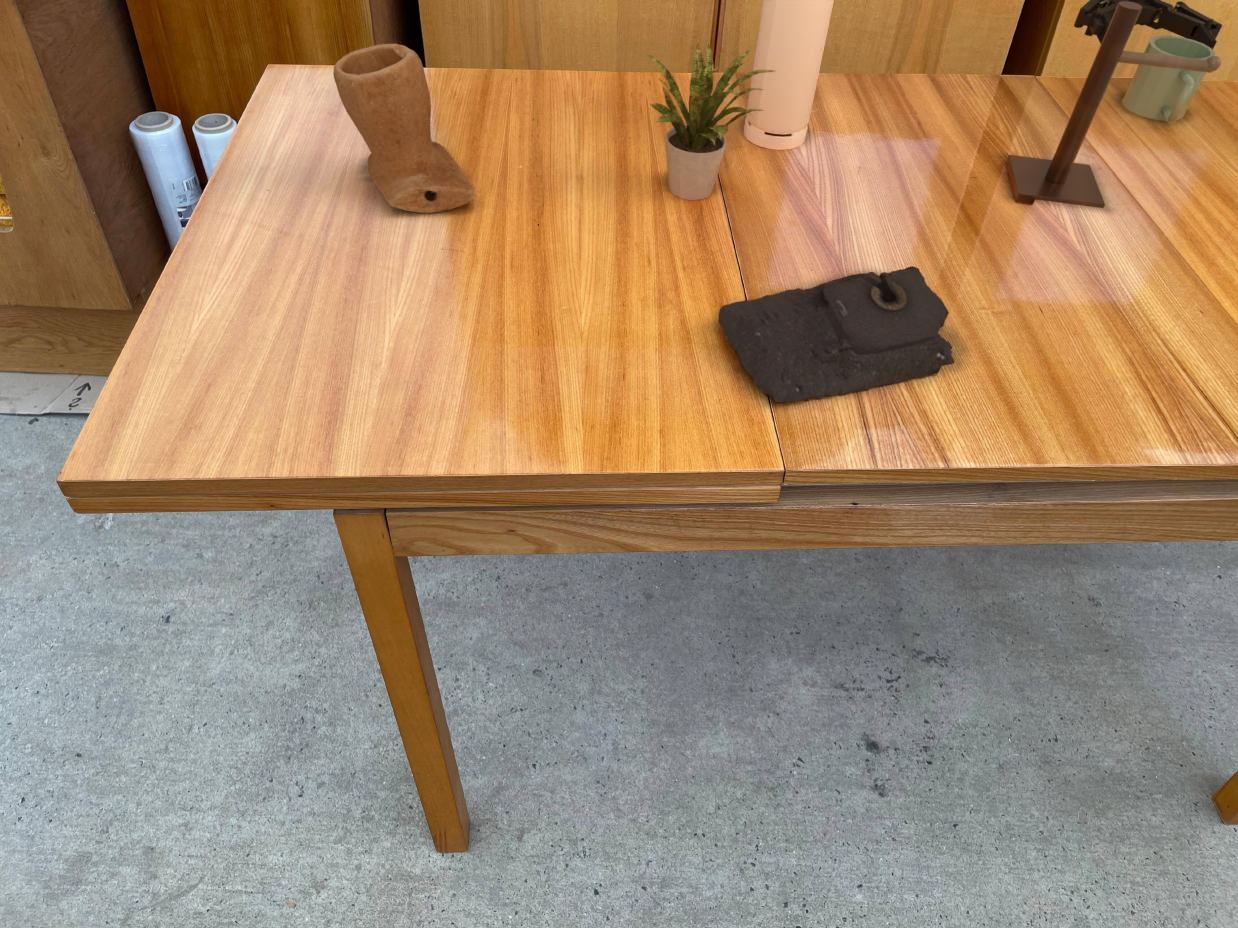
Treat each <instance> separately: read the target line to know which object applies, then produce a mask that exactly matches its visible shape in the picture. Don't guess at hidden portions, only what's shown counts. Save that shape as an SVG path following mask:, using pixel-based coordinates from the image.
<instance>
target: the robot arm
mask: <svg viewBox="0 0 1238 928" xmlns="http://www.w3.org/2000/svg"><path fill="white" fill-rule="evenodd" d="M1122 1H1129V2H1134V3H1137V4H1139V5H1141V6H1142V10H1141V12H1140V14H1139V16H1138V19H1137V21H1136V23H1135V25H1134V26H1137V25H1139V26H1146V27H1149V28H1150V29H1154V30H1155V31H1157V30H1161V29H1162V30H1166V31H1168V32H1170V33H1173V34H1175V35H1178V36H1179V37H1183V38H1187V39H1192V40H1195V41H1198V42H1200V43H1203V44H1205V45H1207V46H1208V47H1210V48H1212V49H1213V50H1214V48H1215V46H1216V44H1217V43H1218V41H1217V40H1216V39H1217V37H1218V35H1219V34H1220V32H1221V29H1222V27H1224V26H1223V24H1222V23H1220V22H1218V21H1216V20H1215V19H1213V18H1210V17H1209V16H1207V15H1205V14H1203V13H1201V12H1199V11H1197V10H1195V9H1193V8H1192V7H1189V6H1188V5H1187V3H1186V2H1184V1H1181V0H1179V1H1176V3H1175V4H1174V5H1173V4H1171V3H1169V2H1166V1H1163V0H1088V1H1087V2H1085V4H1084V5H1083V6H1082V7H1080V9H1079V10H1078V13H1077V16H1076V18H1075V21H1074V24H1073V27H1074V28H1076V29H1082V28H1083V27H1085V26H1086V29H1085V31H1084V35H1085V36H1087V37H1093V36H1096V37H1097V40H1098V42H1099V43H1100V45H1101V43H1102V41H1103V39H1104V36H1105V34H1106V32H1107V29H1108V27H1109V24H1110V22H1111V20H1112V17H1113V15H1114V13H1115V10H1116V8H1117V6H1118V3H1119V2H1122ZM1156 21H1157V22H1156Z"/></svg>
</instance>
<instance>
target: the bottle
mask: <svg viewBox="0 0 1238 928" xmlns="http://www.w3.org/2000/svg"><path fill="white" fill-rule="evenodd" d="M834 2H835V0H763V2H762V7H761V8H762V9H761V15H760V20H759V26H758V27H759V28H758V33H757V34H758V35H757V41H756V48H755V54H754V61H753V67H752V71H755V70H774V72H766V73H759V74H756V75H754V76H752V77H751V80H750V86H749V88H760V89H763V90H751V91H749V94H748V100H747V106H746V110H749V109H760V110H763V111H752V112H749V113H750V114H749V113H747V114H746V118H745V119H744V126H743V136H744V137H745V139H746V140H748V141H749V142H750V143H751V144H754V145H756V146H758V147H760V148H764V149H769V150H777V151H784V150H792V149H795V148H798V147H800V146H802V145H804V143H805V141H806V139H807V138H806V137H807V133H808V124H809V122H810V119H811V115H812V109H813V104H814V99H815V94H816V90H817V85H818V80H819V75H820V70H821V66H822V60H823V56H824V50H825V46H826V41H827V37H828V36H827V35H828V31H829V27H830V21H831V17H832V12H833V7H834ZM766 133H769V134H766ZM771 134H773V135H771ZM777 135H788V136H777Z"/></svg>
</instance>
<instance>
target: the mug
mask: <svg viewBox="0 0 1238 928" xmlns="http://www.w3.org/2000/svg"><path fill="white" fill-rule="evenodd" d="M1143 53H1149V54H1158V55H1167V56H1176V57H1185V58H1194V59H1202V60H1206V59H1207V58H1209V57H1211V56H1216V52H1215V50H1214V48H1213V49H1212V48H1210V47H1208V46H1207V45H1205V44H1203V43H1200V42H1198V41H1195V40H1192V39H1187V38H1185V37H1182V36H1175V35H1158V36H1154V37H1151V38H1150V40H1149V42H1148V44H1147V46H1146V48H1145V50H1144V52H1143ZM1206 74H1207V72H1199V71H1190V70H1181V69H1173V68H1164V67H1155V66H1146V65H1138V64H1137V68H1136V69H1135V72H1134V73H1133V76H1132V79H1131V80H1130V82H1129V85H1128V87H1127V90H1126V91H1125V93H1124V96H1123V98H1122V100H1121V103H1122V105H1123V107H1124V108H1126V109H1127V110H1128V111H1130V112H1131V113H1133V114H1135V115H1137V116H1139V117H1142V118H1146V119H1150V120H1155V121H1162V122H1166V123H1167V124H1168V125H1170V126H1171V125H1174V124H1175V123H1176V122H1177V121H1178V120H1180V119H1183V118H1184V116H1185V115H1186V113H1187V110H1188V109H1189V107H1190V105H1191V103H1192V101H1193V99H1194V97H1195V95H1196V93H1197V91H1198V90H1199V87H1200V85H1201V84H1202V81H1203V79H1204V77H1205V75H1206Z"/></svg>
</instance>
